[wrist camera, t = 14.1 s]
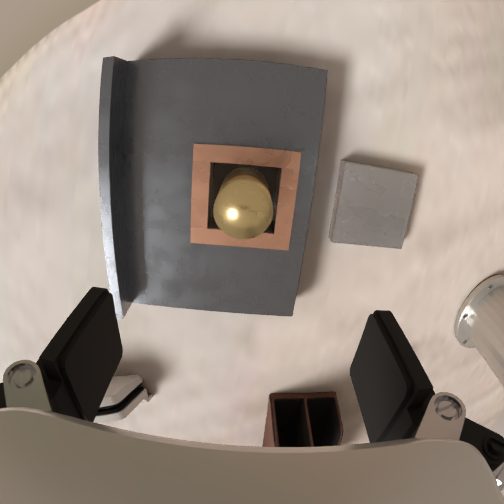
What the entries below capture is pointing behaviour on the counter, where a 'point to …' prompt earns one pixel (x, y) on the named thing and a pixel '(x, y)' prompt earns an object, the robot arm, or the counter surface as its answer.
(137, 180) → the plate
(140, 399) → the grey rounded block
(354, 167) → the gray square slab
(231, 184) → the barrel peg
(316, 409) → the letter holder
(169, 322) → the counter surface
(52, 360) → the robot arm
